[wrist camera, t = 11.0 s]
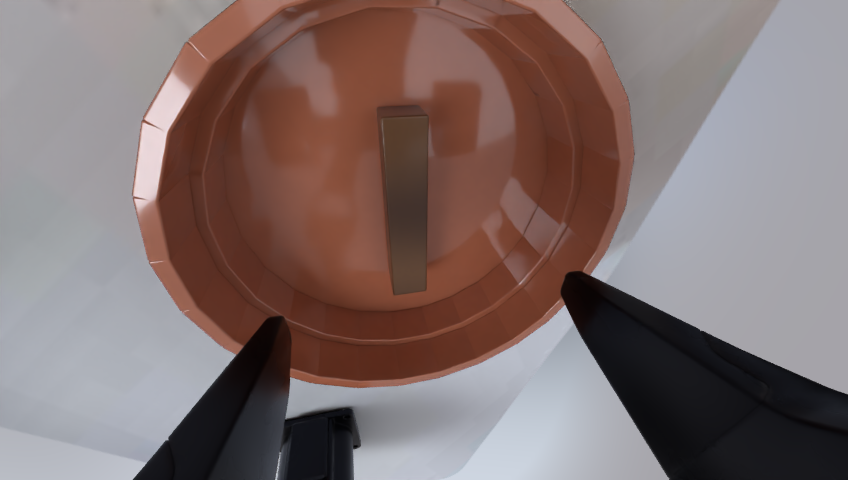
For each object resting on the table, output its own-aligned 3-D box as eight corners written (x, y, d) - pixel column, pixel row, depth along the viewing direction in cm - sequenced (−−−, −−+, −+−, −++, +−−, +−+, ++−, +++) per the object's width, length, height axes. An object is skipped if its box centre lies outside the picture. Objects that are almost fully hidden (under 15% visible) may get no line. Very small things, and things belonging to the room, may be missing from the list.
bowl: (523, 293, 22) (563, 353, 18) (268, 334, 19) (248, 416, 15) (605, -18, 12) (732, -38, 8) (105, -34, 9) (-77, -79, 5)
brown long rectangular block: (420, 270, 18) (426, 291, 17) (389, 274, 18) (393, 296, 16) (419, 104, 13) (429, 114, 11) (375, 106, 13) (380, 117, 11)
